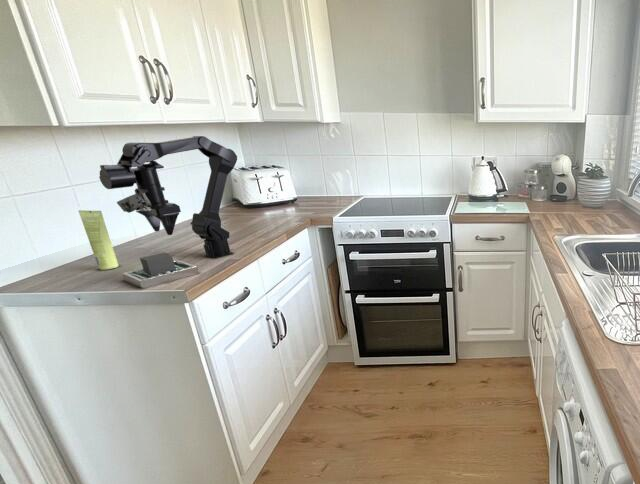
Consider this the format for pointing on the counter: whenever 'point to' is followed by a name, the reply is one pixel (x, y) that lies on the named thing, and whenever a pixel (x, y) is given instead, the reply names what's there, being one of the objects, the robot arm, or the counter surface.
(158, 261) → the dark grey block
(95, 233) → the tube
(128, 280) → the striped rimmed tray
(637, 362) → the counter surface
